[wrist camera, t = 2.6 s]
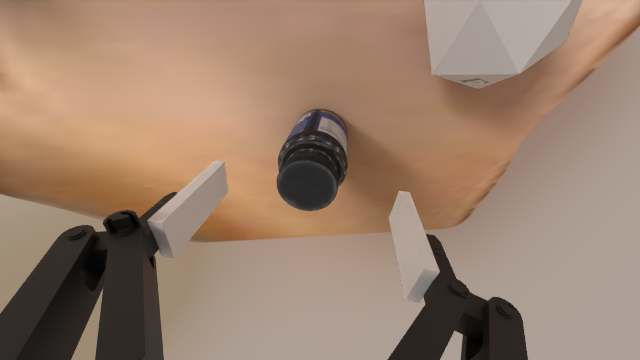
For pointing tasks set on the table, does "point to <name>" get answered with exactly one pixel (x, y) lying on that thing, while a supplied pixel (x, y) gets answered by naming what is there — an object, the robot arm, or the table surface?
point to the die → (494, 36)
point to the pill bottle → (313, 161)
